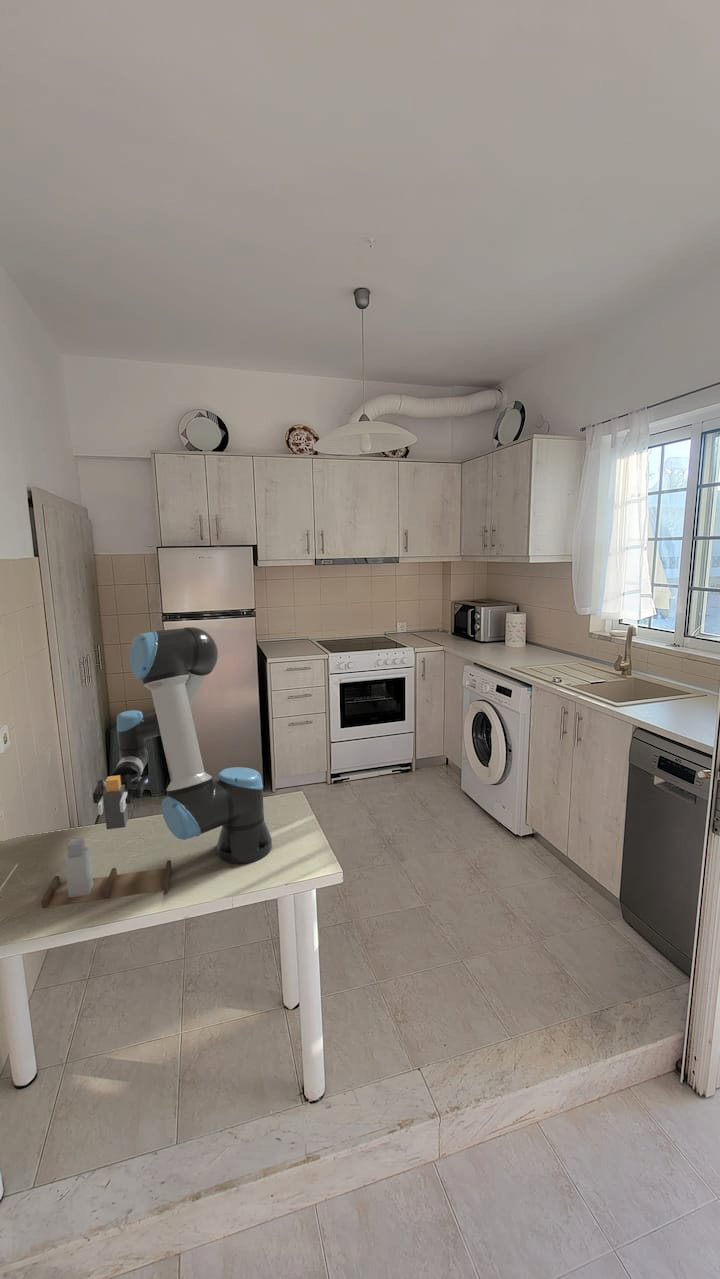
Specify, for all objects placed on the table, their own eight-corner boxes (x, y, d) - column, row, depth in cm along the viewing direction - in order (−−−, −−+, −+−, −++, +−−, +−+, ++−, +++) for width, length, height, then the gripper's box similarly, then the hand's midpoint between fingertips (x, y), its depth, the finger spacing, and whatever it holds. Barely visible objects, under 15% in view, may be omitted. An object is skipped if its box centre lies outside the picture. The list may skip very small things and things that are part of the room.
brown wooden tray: (172, 870, 145) (171, 860, 145) (167, 893, 136) (166, 882, 135) (56, 887, 139) (54, 876, 139) (42, 911, 130) (41, 900, 129)
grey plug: (93, 883, 139) (88, 836, 136) (89, 894, 134) (83, 845, 132) (74, 886, 138) (68, 838, 135) (68, 897, 133) (62, 848, 131)
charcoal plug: (128, 819, 149) (123, 773, 147) (125, 827, 145) (120, 780, 143) (110, 821, 148) (105, 775, 146) (106, 829, 144) (101, 782, 142)
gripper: (160, 781, 165) (148, 817, 143) (97, 788, 161) (74, 826, 139) (158, 757, 164) (145, 790, 141) (94, 764, 160) (71, 798, 138)
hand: (110, 808), depth 140 cm, fingers closed on charcoal plug, 4 cm apart
